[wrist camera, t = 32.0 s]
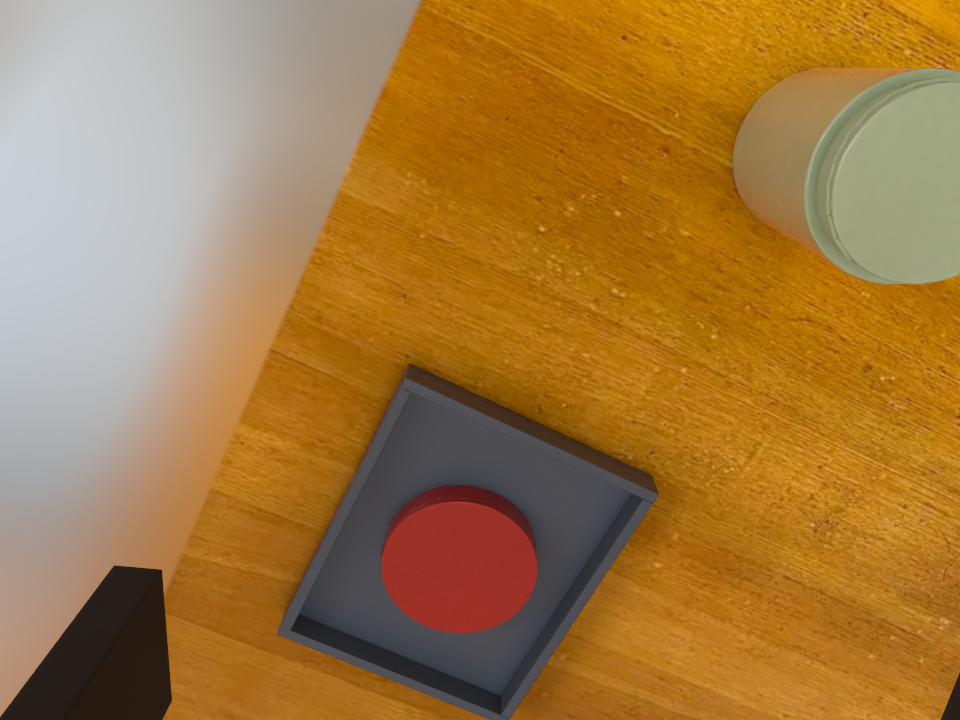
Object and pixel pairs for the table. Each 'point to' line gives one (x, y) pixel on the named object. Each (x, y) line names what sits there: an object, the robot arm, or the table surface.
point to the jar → (859, 169)
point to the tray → (478, 463)
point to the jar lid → (459, 559)
